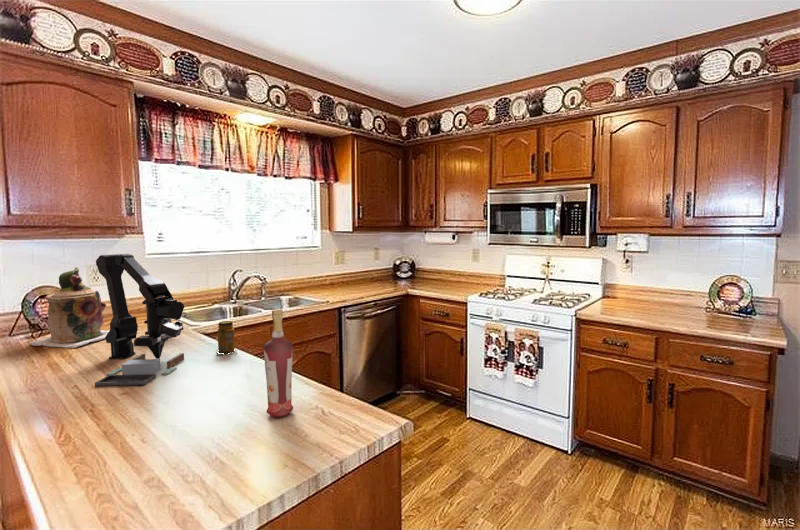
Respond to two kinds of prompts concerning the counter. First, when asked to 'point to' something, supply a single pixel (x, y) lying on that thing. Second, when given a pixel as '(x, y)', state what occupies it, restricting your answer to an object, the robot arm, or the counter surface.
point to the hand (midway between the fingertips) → (158, 358)
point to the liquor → (278, 369)
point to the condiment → (226, 338)
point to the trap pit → (125, 380)
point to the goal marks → (162, 373)
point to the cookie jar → (73, 314)
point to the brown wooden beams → (170, 363)
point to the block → (141, 367)
